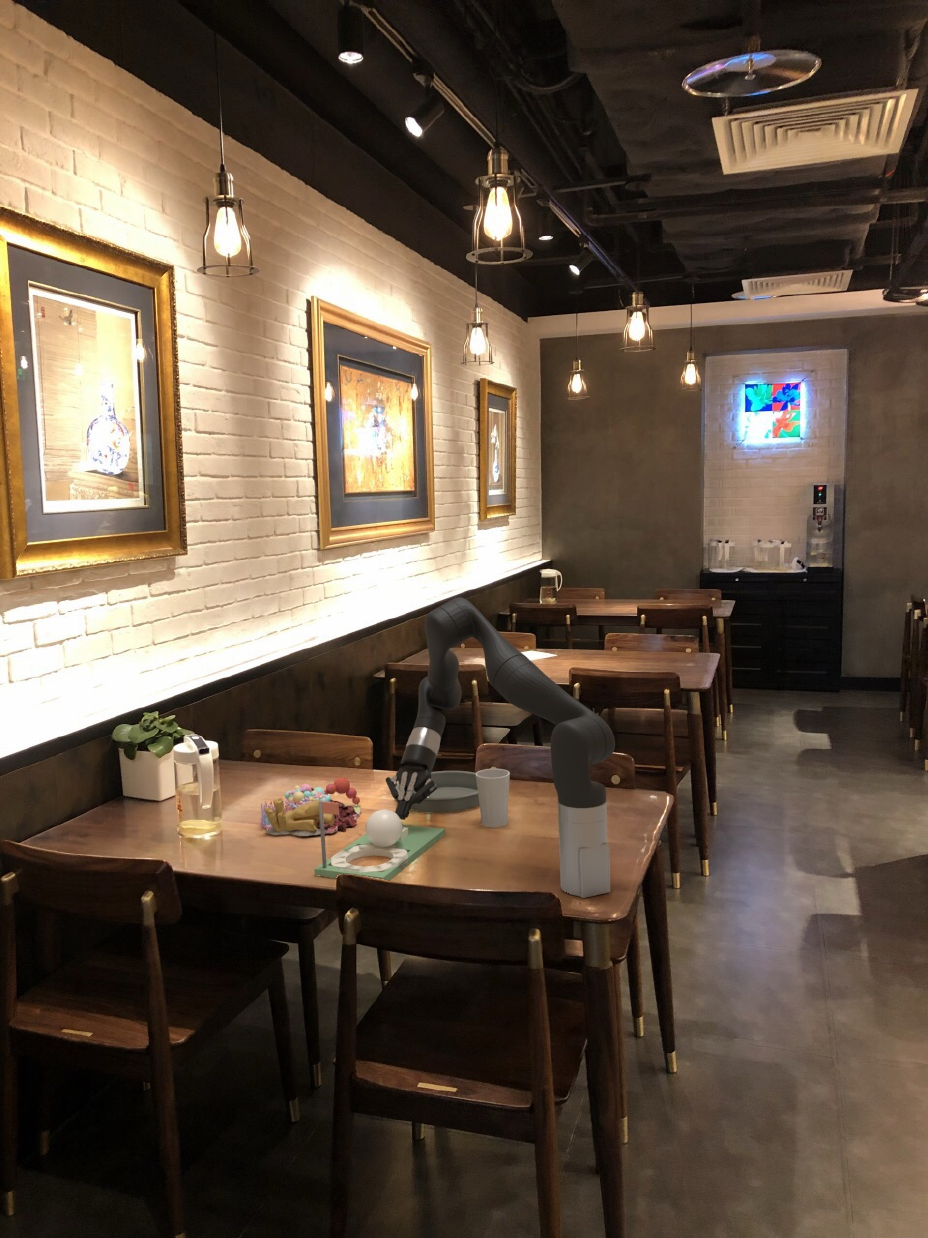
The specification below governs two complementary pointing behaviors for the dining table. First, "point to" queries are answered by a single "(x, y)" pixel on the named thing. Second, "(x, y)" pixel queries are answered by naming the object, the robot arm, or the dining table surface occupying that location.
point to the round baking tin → (450, 793)
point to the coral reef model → (310, 810)
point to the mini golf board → (376, 850)
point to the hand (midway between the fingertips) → (400, 818)
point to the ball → (384, 828)
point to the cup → (493, 796)
